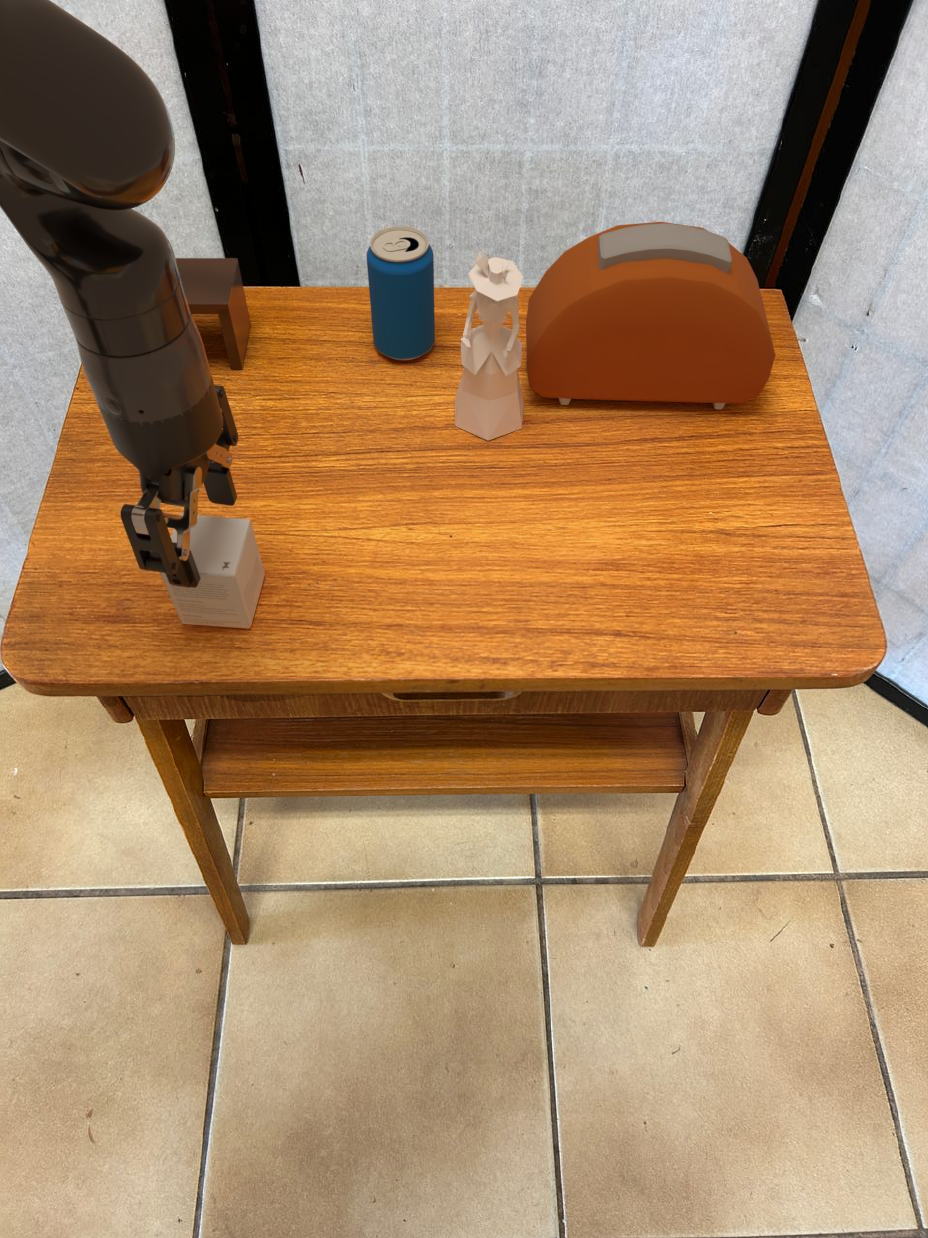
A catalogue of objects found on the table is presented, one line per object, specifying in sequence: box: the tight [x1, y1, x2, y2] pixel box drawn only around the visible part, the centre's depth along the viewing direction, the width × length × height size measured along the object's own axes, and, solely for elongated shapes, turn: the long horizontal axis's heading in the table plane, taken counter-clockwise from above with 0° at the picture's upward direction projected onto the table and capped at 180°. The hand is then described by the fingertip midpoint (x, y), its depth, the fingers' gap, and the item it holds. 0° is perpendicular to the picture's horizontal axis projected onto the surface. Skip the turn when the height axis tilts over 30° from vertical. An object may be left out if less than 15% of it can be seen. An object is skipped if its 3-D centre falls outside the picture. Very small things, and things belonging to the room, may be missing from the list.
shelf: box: [175, 257, 252, 371], centre depth 97 cm, size 8×11×8 cm
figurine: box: [454, 251, 525, 442], centre depth 87 cm, size 7×8×18 cm
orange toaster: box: [525, 221, 776, 410], centre depth 91 cm, size 23×9×17 cm, turn 88°
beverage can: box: [366, 225, 436, 361], centre depth 96 cm, size 6×6×12 cm
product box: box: [159, 513, 266, 629], centre depth 78 cm, size 6×6×7 cm
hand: (206, 540), depth 75 cm, fingers open, 8 cm apart
